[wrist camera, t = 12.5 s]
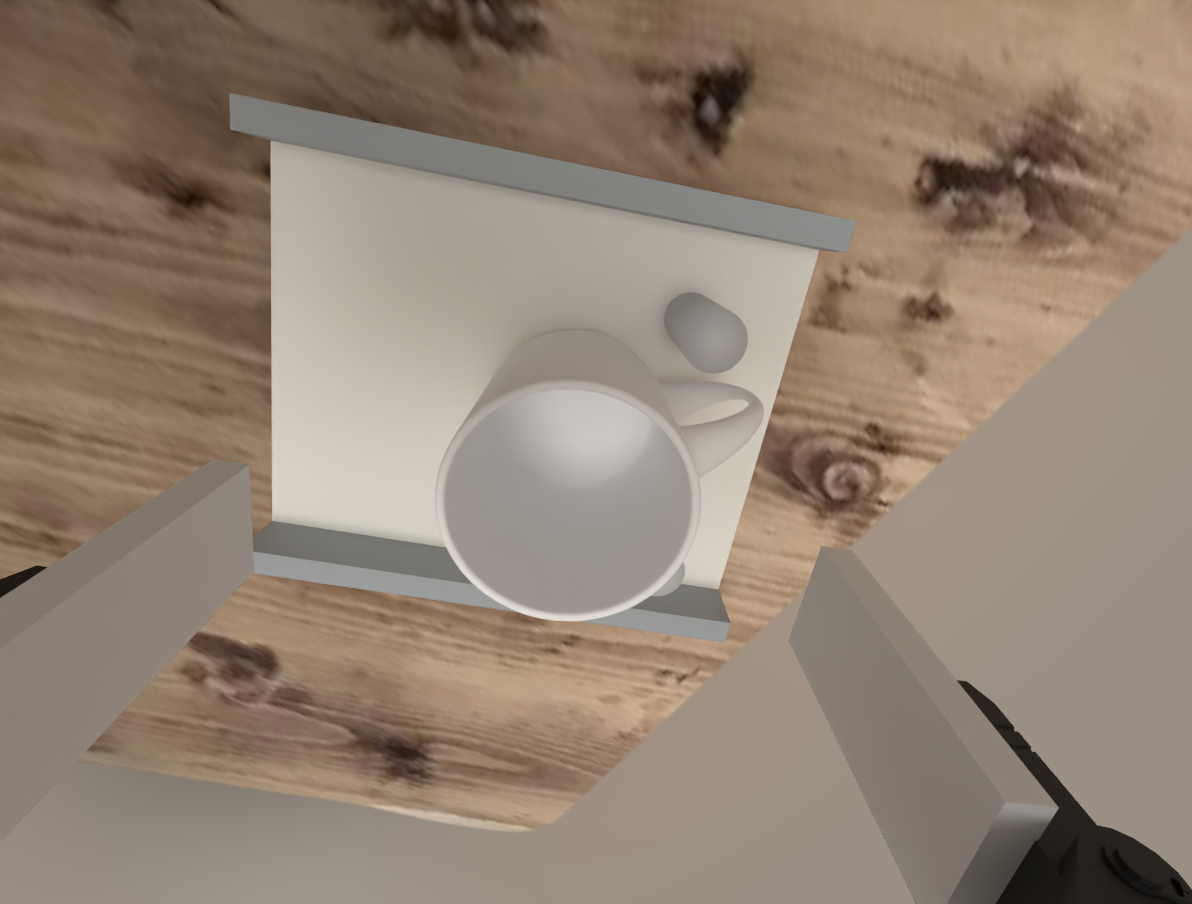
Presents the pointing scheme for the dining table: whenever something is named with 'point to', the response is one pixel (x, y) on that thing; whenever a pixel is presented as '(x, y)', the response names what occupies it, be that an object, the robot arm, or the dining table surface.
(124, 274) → the dining table surface
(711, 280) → the channel board
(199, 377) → the dining table surface
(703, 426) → the mug
